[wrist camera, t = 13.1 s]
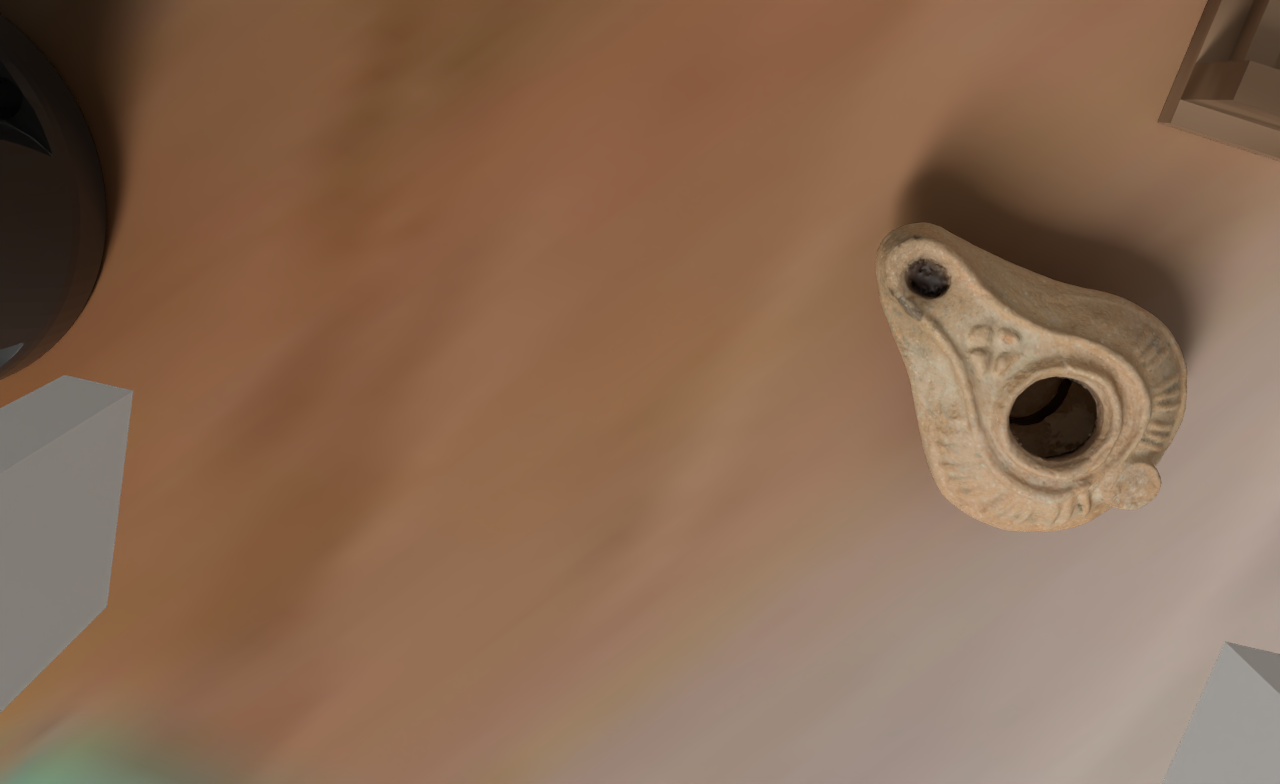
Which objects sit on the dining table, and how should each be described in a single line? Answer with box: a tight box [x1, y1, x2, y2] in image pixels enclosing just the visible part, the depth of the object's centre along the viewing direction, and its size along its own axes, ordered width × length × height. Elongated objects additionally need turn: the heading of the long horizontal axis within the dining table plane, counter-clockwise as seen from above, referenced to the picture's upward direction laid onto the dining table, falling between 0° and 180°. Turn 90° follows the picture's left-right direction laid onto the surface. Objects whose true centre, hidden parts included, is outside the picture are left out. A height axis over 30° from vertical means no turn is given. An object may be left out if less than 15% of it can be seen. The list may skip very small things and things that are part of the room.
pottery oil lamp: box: [875, 222, 1187, 532], centre depth 37 cm, size 9×12×7 cm
